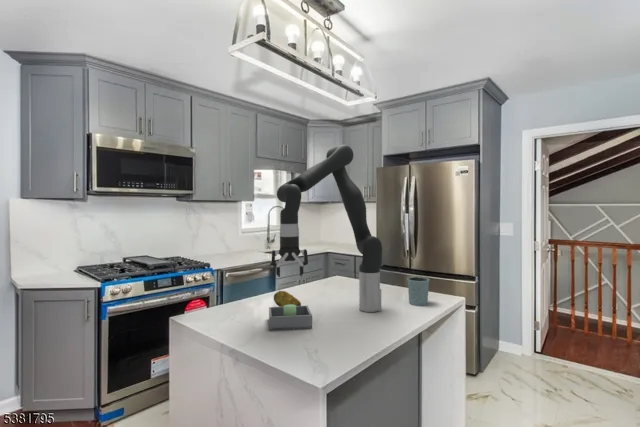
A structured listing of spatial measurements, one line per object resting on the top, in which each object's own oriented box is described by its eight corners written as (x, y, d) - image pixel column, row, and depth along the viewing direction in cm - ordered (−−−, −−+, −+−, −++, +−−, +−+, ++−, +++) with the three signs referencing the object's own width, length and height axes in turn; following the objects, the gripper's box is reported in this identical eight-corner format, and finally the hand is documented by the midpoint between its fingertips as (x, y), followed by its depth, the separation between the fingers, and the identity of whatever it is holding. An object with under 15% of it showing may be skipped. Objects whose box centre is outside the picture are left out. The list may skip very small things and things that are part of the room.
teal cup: (427, 301, 177) (427, 276, 177) (431, 306, 167) (431, 281, 167) (405, 300, 178) (406, 276, 178) (408, 306, 168) (409, 280, 168)
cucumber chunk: (295, 318, 146) (295, 304, 146) (296, 322, 141) (296, 307, 141) (283, 319, 145) (283, 304, 145) (283, 323, 140) (283, 308, 140)
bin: (307, 317, 151) (307, 305, 151) (312, 328, 137) (312, 315, 137) (269, 319, 148) (268, 307, 148) (269, 330, 135) (269, 317, 135)
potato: (288, 314, 155) (288, 296, 155) (270, 308, 164) (270, 291, 164) (303, 310, 161) (303, 292, 161) (285, 305, 170) (285, 288, 170)
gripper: (306, 234, 147) (306, 273, 147) (270, 234, 145) (271, 275, 145) (308, 235, 139) (309, 277, 140) (271, 236, 137) (271, 278, 137)
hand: (289, 276), depth 142 cm, fingers open, 8 cm apart
